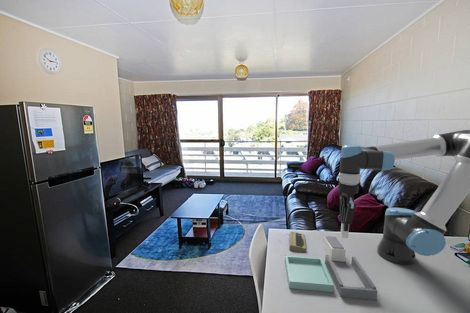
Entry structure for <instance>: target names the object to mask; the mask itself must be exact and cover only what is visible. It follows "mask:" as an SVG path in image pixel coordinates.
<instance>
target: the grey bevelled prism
mask: <svg viewBox="0 0 470 313" xmlns="http://www.w3.org/2000/svg"><path fill="white" fill-rule="evenodd" d="M322 243H323V244H322V248H323V251H324V252H325V253H326V255H329V257H330V259H331V261H332V262H345V260H346V248H345V247H344V245H343V244H342V243H341V241H340V240H339V239H338V238H337V236H328V235H327V236H326V235H325V236H323V242H322Z"/></svg>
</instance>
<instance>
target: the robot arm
mask: <svg viewBox="0 0 470 313" xmlns="http://www.w3.org/2000/svg"><path fill="white" fill-rule="evenodd" d="M428 156H429V157H430V156H436V157H440V158H441V157H453V158H454V160H455V163H454V165H453V166H452V167H451V169H450V170H449V172H448V173H447V174H446V176H445V177H444V178H443V179H442V181H441V183H440V184H439V185H438V187H437V188H436V190H434V192H433V194H432V195H431V197H430V198H429V199H428V200H427V202H426V204H424V206H423V208H422V209H421V211H417V212H416V211H415V210H413V209H409V208H404V207H388V208H386V210H385V214H384V223H383V231H382V232H383V234H382V237H381V240H380V242H379V243H378V245H377V250H376V251H377V254H378V255H379V256H380V257H382V258H383V259H385V260H387V261H389V262H392V263H395V264H400V265H404V266H405V265H413V264H415V262H416V257H417V255H416V254H418V255H419V256H425V257H429V256H436V255H437V254H440V253H441V252H442V251H443V250H444V249H445V248H446V244H447V243H446V237H445V236H444V235H446V232H447V231H448V230H447V227H446V224H447V223H448V222H449V220H450V219H451V217H452V216H453V214H454V213H455V212H456V210H457V209H458V208H459V206H460V205H461V204H462V203H463V201H464V199H465V198H466V197H467V196H468V194H470V129H463V130H462V129H461V130H456V131H452V132H446V133H441V134H435V135H433V136H431V137H428V138H421V139H415V140H414V139H413V140H409V141H407V140H406V141H402V142H401V141H400V142H394V143H392V142H391V143H385V144H379V145H373V146H367V147H366V146H365V147H363V146H361V145H355V144H354V145H352V144H345V145H342V147H341V150H340V159H339V162H340V163H339V174H338V176H337V177H338V178H339V179H338V187H337V188H338V189H337V191H338V192H339V193H341V194H339V218H340V220H341V221H340V224H341V226H340V235H339V236H340V237H341V238H343V239H349V231H350V225H352V224H353V220H354V219H353V218H354V214H355V209H356V207H357V204H356V203H354V202H355V198H354V195H357V194H359V188H360V186H359V183H360V177H361V176H360V175H361V170H375V171H377V170H379V171H388V170H391V169H392V168H394V166H395V161H398V160H399V161H400V160H405V159H413V158H420V157H428Z"/></svg>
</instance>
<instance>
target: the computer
mask: <svg viewBox="0 0 470 313" xmlns="http://www.w3.org/2000/svg"><path fill="white" fill-rule="evenodd" d="M305 238H306V235H305V233H301V232H296V231H292V230H291V231H290V232H289V239H288V240H289V241H288V242H289V243H288V244H289V247H288V248H289V251H294V250H295V252H302V251H303V253H306V252H307V245H306V239H305Z"/></svg>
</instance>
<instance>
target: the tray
mask: <svg viewBox="0 0 470 313" xmlns="http://www.w3.org/2000/svg"><path fill="white" fill-rule="evenodd" d="M284 264H285V270H286V276H287V281H288V288H289V289H296V290H305V291H306V290H307V291H318V292H327V293H333V292H334V290H335V289H334V287H335V284H334V282H333V280H332V277H331V275H330V273H329V271H328V268H327V266H326V264H325V261H324V260H323V258H322V257H310V256H299V255H284Z"/></svg>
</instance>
